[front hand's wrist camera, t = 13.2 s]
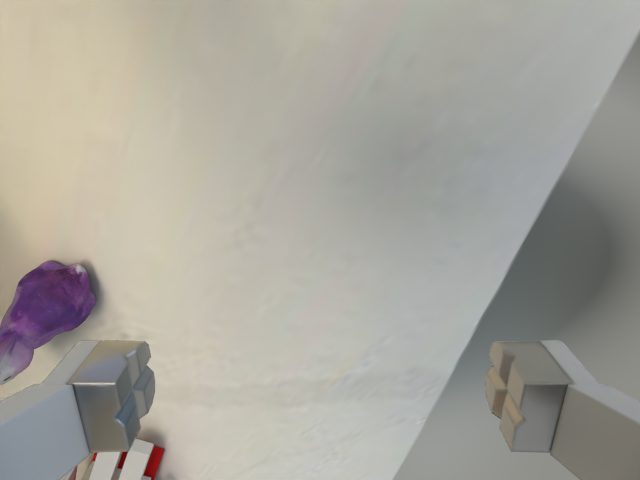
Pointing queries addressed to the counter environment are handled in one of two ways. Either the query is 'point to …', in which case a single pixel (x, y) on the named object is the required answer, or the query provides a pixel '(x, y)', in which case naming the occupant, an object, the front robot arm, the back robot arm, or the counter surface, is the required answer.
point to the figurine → (42, 313)
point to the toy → (123, 464)
